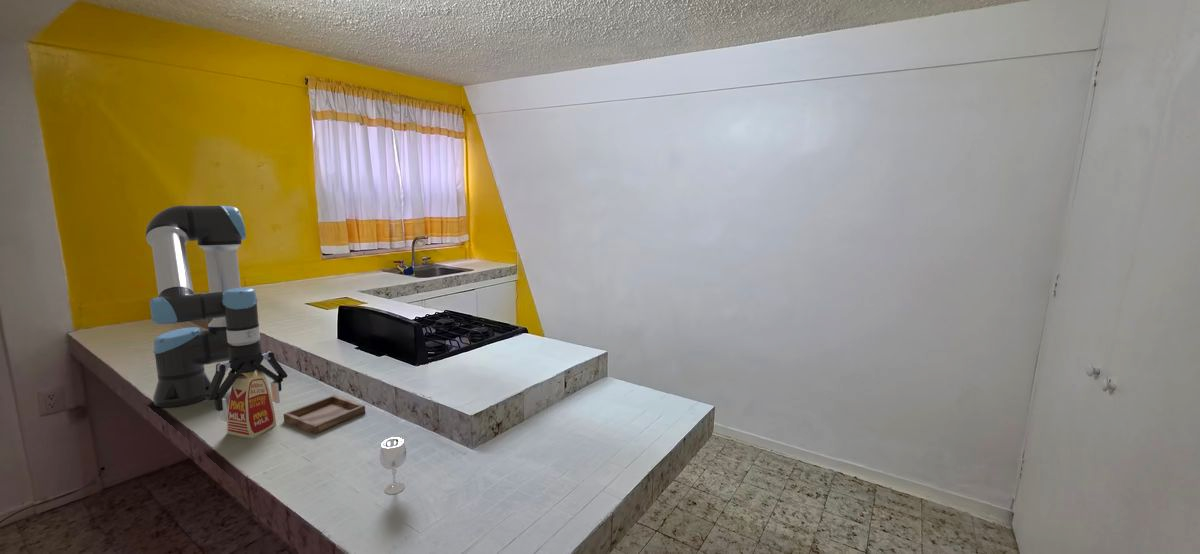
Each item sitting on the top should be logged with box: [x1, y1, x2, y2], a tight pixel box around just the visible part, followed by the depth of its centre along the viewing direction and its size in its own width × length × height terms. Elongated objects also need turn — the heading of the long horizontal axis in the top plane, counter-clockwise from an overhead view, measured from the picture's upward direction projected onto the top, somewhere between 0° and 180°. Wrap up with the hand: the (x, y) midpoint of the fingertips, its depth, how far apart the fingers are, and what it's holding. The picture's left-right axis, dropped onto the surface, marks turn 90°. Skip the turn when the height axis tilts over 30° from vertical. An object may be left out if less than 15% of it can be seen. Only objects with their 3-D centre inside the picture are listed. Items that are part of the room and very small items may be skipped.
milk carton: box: [226, 369, 277, 439], centre depth 134 cm, size 9×9×20 cm
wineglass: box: [379, 437, 407, 495], centre depth 109 cm, size 6×6×12 cm
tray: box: [282, 394, 366, 435], centre depth 144 cm, size 16×16×2 cm
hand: (251, 410), depth 135 cm, fingers open, 13 cm apart
